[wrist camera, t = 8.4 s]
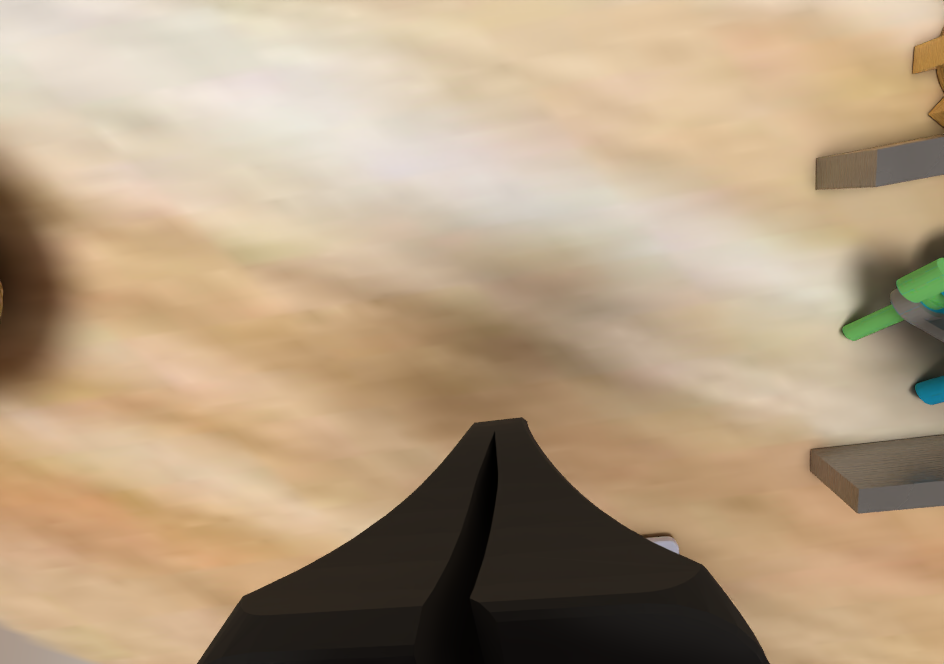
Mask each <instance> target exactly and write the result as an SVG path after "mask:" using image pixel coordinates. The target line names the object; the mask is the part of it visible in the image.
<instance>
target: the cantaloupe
mask: <svg viewBox="0 0 944 664" xmlns="http://www.w3.org/2000/svg"><path fill="white" fill-rule="evenodd" d="M2 299H3V288H2V284H1V281H0V317H1V313H2V309H3V301H2Z"/></svg>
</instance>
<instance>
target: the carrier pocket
mask: <svg viewBox="0 0 944 664" xmlns="http://www.w3.org/2000/svg"><path fill="white" fill-rule="evenodd" d="M933 69H937V75H938V78H939V82H940V84H941V87H942V89H943V91H944V28H943V30H942V33H941V36H940V37H938V38H936V39H933V40H931V41H928V42H926V43H923V44H920V45H918V46H915V48H914V62H913V74H914V73H919V72H923V71H928V70H933ZM928 115H930V116H931V117H932V118H933V119H934V120H936V121H937V122H938V123H939V124H940V125H942V126H943V127H944V98H943V99H942V100H941V101H940V102H939V103H938V104H937V105H936V106H935V107H934V108H933V109H932V111H931V112H930V113H929V114H928ZM938 175H944V134H940V135H935V136H930V137H925V138H920V139H914V140H909V141H904V142H899V143H894V144H888V145H883V146H878V147H873V148H868V149H863V150H857V151H852V152H847V153H842V154H837V155H832V156H826V157H821V158H817V169H816V190H819V189H841V188H863V187H878V186H883V185H889V184H894V183H900V182H905V181H911V180H916V179H922V178H927V177H933V176H938ZM810 471H811V472H812V473H813V474H814V475H815V476H816V477H817V478H818V479H820V480H821V481H822V482H823V483H824V484H825V485H826V486H827V487H828V488H830V489H831V490H832V491H833V492H834V493H835V494H836V495H837V496H839V497H840V498H841V499H842V500H843V501H844V502H845V503H846V504H847V505H849V506H850V507H851V508H852V509H853V510H854V511H855V512H856V513H869V512H880V511H891V510H902V509H913V508H924V507H935V506H944V435H938V436H929V437H920V438H911V439H902V440H893V441H884V442H875V443H866V444H857V445H848V446H839V447H830V448H821V449H812V450H811V467H810Z"/></svg>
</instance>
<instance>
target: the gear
mask: <svg viewBox="0 0 944 664" xmlns="http://www.w3.org/2000/svg"><path fill="white" fill-rule="evenodd" d="M896 285H897V288H896V289H894V290H893V291H892V292H891V294H890V301H891V305H889V306H886V307H884V308H882V309H880V310H878V311H876V312H873V313H871V314H869V315H867V316H865V317H863V318H860V319H858V320H856V321H854V322H852V323H850V324H847V325H845V326H844V327H843V329H842V330H843V333H844V335H845V336H846V337H847V338H848V339H850V340H852V341H855V340H858V339H860V338H863V337H865V336H867V335H870V334H872V333H875V332H877V331H879V330H882V329H884V328H886V327H889V326H891V325H894V324H896V323H898V322H901V321H903V320H906V321H907V322H909V323H911V324H912V325H914V326H916V327H918V328H919V329H921V330H923V331H924V332H926V333H928V334H930V335H931V336H933V337H935V338H937V339H938V340H940V341H942V342H944V258H939V259H937V260H935V261H933V262H931V263H929V264H927V265H925V266H923V267H921V268H919V269H917V270H915V271H913V272H911V273H909V274H907V275H905V276H903V277H901V278H899V279H898V280H897V281H896ZM915 390H916V393H917V395H918V396H919V397H920V399H921V400H922V401H924V402H925V403H927V404H930V405H934V404H938V403H942V402H944V375H943V376H940V377H936V378H933V379H930V380H926V381H923V382H919V383H917V384H916V386H915Z"/></svg>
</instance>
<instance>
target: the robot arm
mask: <svg viewBox="0 0 944 664" xmlns="http://www.w3.org/2000/svg"><path fill="white" fill-rule="evenodd" d="M197 664H770V663H769V661H768V660H767V658H766V656H765V654H764V651H763V649H762V647H761V646H760V644H759V642H758V640H757V638H756V637H755V635H754V633H753V632H752V630H751V629H750V627H749V626H748V624H747V623H746V621H745V619H744V618H743V617H742V615H741V614H740V612H739V611H738V610H737V608H736V607H735V605H734V604H733V603H732V601H731V600H730V599H729V597H728V596H727V594H726V593H725V592H724V591H723V589H722V588H721V587H720V585H719V584H718V583H717V582H716V580H715V579H714V578H713V576H712V575H711V574H710V573H709V571H708V570H707V569H706V568H705V567H704V566H703V565H702V564H699V563H697V562H695V561H693V560H691V559H688V558H686V557H684V556H682V555H680V554H679V547H678V544H677V542H676V540H675V539H674V538H672V537H670V536H663V537H652V538H644V537H643V536H641V535H639V534H637V533H636V532H634V531H632V530H630V529H628V528H627V527H625V526H624V525H622V524H620V523H619V522H617V521H616V520H615V519H613V518H612V517H610V516H609V515H607V514H606V513H604V512H603V511H602V510H600V509H599V508H598V507H596V506H595V505H594V504H593V503H591V502H590V501H589V500H588V499H586V498H585V497H584V496H583V495H582V494H581V493H580V492H579V491H578V490H576V489H575V488H574V487H573V486H572V485H571V484H570V483H569V482H568V481H567V480H566V479H565V478H564V477H563V475H562V474H561V473H560V472H559V471H558V470H557V469H556V468H555V466H554V465H553V464H552V463H551V462H550V460H549V459H548V458H547V456H546V455H545V454H544V452H543V451H542V450H541V448H540V447H539V445H538V444H537V442H536V441H535V439H534V437H533V435H532V434H531V432H530V430H529V427H528V424H527V421H526V420H525V419H523V418H522V417H521V418H513V419H504V420H495V421H487V422H478V423H474V424H473V425H472V426H471V427H470V429H469V430H468V431H467V432H466V434H465V435H464V436H463V437H462V439H461V440H460V441H459V443H458V444H457V445H456V446H455V448H454V449H453V450H452V451H451V453H450V454H449V455H448V456H447V457H446V459H445V460H444V461H443V462H442V463H441V464H440V465H439V467H438V468H437V469H436V470H435V471H434V472H433V473H432V474H431V475H430V476H429V477H428V478H427V479H426V480H425V481H424V482H423V483H422V485H420V486H419V487H418V488H417V489H416V490H415V491H414V492H413V493H412V494H411V495H410V496H409V497H408V498H406V499H405V500H404V501H403V502H402V503H400V504H399V505H398V506H397V507H396V508H394V509H393V510H392V511H391V512H390V513H388V514H387V515H386V516H384V517H383V518H381V519H380V520H379V521H377V522H376V523H374V524H373V525H372V526H370V527H369V528H367V529H366V530H365V531H363V532H362V533H360V534H359V535H357V536H356V537H355V538H353V539H351V540H350V541H348V542H347V543H345V544H343V545H342V546H340V547H339V548H337V549H335V550H334V551H332V552H330V553H329V554H327V555H325V556H323V557H321V558H320V559H318V560H316V561H314V562H313V563H311V564H309V565H307V566H305V567H303V568H301V569H300V570H298V571H296V572H293V573H291V574H289V575H287V576H285V577H283V578H281V579H279V580H277V581H275V582H273V583H271V584H269V585H266V586H264V587H262V588H260V589H258V590H256V591H254V592H252V593H249V594H247V595H245V596H243V597H242V599H241V600H240V601H239V603H238V604H237V606H236V607H235V608H234V610H233V611H232V613H231V614H230V616H229V617H228V619H227V620H226V622H225V623H224V625H223V626H222V628H221V629H220V631H219V632H218V634H217V635H216V636H215V638H214V639H213V641H212V642H211V644H210V645H209V647H208V648H207V650H206V651H205V653H204V654H203V656H202V657H201V659H200V660H199V662H198V663H197Z"/></svg>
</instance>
